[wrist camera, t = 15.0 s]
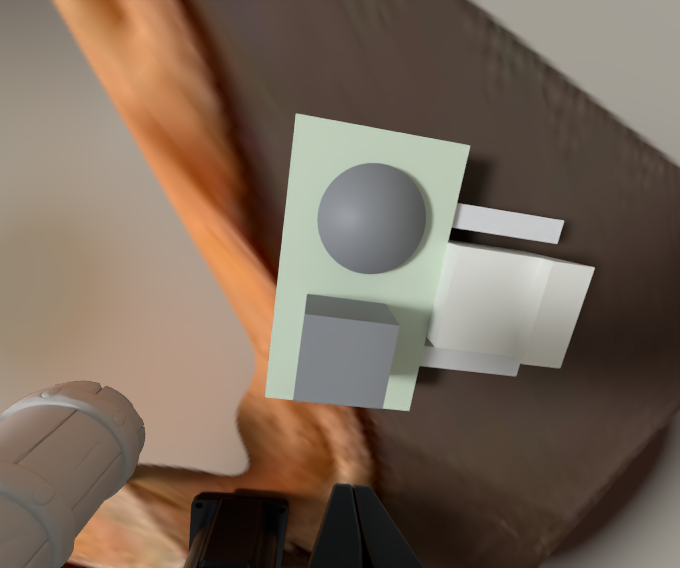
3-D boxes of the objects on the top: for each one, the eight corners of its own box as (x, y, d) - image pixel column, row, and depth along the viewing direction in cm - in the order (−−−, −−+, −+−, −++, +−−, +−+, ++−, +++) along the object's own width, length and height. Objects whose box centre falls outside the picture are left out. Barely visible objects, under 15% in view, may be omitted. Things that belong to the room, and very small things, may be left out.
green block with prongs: (483, 390, 21) (544, 460, 16) (272, 369, 20) (253, 436, 14) (545, 173, 18) (652, 159, 12) (299, 129, 17) (290, 89, 11)
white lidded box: (499, 327, 21) (560, 368, 15) (409, 316, 20) (441, 354, 15) (521, 250, 19) (594, 267, 14) (426, 236, 19) (467, 248, 14)
